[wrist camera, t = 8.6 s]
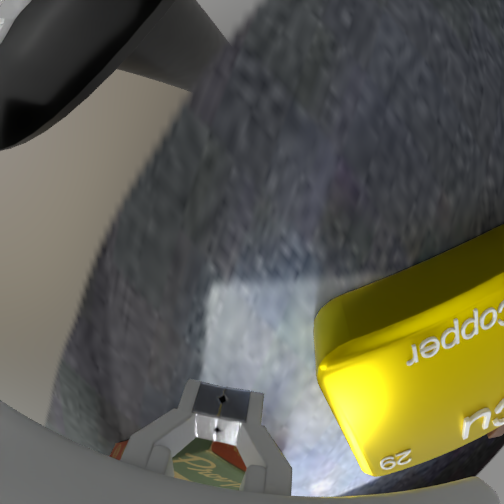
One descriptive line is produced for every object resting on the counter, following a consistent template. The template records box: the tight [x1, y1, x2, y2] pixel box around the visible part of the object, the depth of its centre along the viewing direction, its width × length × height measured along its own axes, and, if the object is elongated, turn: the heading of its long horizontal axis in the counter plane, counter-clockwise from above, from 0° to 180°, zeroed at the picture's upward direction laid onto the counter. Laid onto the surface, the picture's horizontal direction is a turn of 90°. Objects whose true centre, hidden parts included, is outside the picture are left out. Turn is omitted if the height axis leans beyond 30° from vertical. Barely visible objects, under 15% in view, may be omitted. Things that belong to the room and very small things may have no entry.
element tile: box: [313, 224, 504, 477], centre depth 15 cm, size 15×15×5 cm
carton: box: [109, 438, 247, 490], centre depth 22 cm, size 8×16×4 cm, turn 129°
